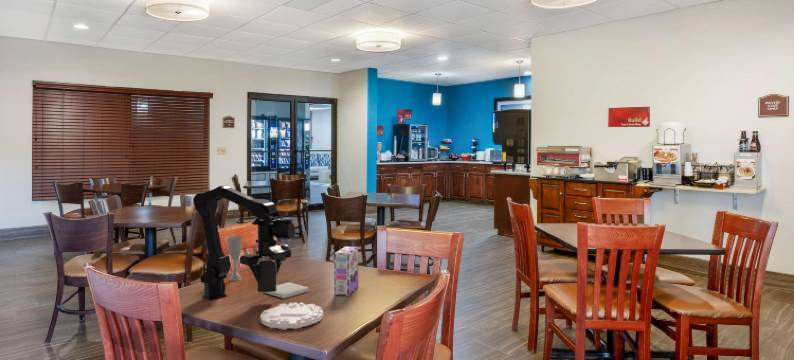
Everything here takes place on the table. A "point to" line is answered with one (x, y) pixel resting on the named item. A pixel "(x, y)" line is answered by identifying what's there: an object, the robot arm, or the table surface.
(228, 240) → the chalice
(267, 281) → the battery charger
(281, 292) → the tray
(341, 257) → the candy box
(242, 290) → the table surface
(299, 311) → the white round plaque
